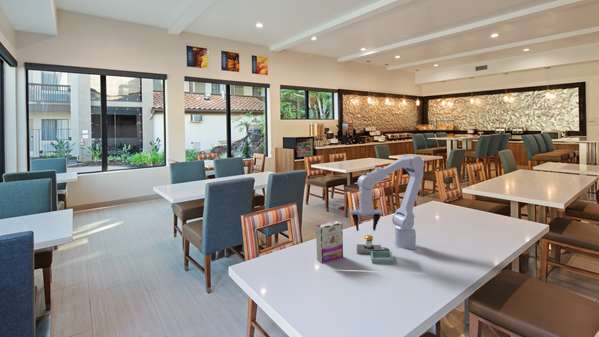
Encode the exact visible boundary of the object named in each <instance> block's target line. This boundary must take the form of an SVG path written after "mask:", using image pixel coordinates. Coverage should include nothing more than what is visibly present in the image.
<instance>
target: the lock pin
mask: <svg viewBox="0 0 599 337" xmlns="http://www.w3.org/2000/svg"><path fill="white" fill-rule="evenodd" d="M364 240H365V245H366V249H372V245H373V240H374V236H373V235H371V234H367V235H364Z"/></svg>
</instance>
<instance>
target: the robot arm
mask: <svg viewBox="0 0 599 337" xmlns="http://www.w3.org/2000/svg"><path fill="white" fill-rule="evenodd" d="M425 163H426V162H424V159H422V157H421V156H415V155H408V154H405V155H402V156H400V157H398V159H397V160H395V161H393V162H391V163H390V164H388V165H386V166H385V167H384V168H383V167H378V166H377V167H375V168H374V170H372V171H370V172H366V173H365V174H366V175H365V174H362V175H360V176H359V177H358V178H357V179H358V180H357V181H356V184H357V186H358V189H359V190H358V192H359V194H358V195H359V204H358V206H359V209H354V210H349V216H351V217H352V219H353V222H354V224H355V227H356V232H359V216H372V221H373V224H372V229H373V231H375V232H376V230H377V225H378V222H379V220H380V219H381V216H382V215H383V211H382V209H373V188H374V186H375V185H376V184H378V183H380V182H382V181H383V180H385V179H387V177H388V175H390V174H391V173H394V172H396V171H399V170H400V169H404V170H405V171H407V173H408V174H409V176H410V177H409V180H408V182H407V186H406V189H405V193H404V195H403V199H402V202H401V204H400V207H399V208H397V209H396V210H395V213H394V214H393V215H392V218H391V221H392V224H394V241H393V242H392V244H393V246H394V248H395V249H411V250H416V249H417V248H416V245H417V244H416V242H417V241H416V240H417V238H416V237H417V236H416V235H417V234H416V229H415V228H414V225H415V217H416V216H415V214H414V212H413V210H414V207H415V203H416V201H417V197H418V193H419V191H420V187H421V184H422V181H423V179H424V167H425Z"/></svg>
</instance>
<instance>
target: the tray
mask: <svg viewBox="0 0 599 337" xmlns="http://www.w3.org/2000/svg"><path fill="white" fill-rule="evenodd" d="M375 256H376V257H377V256H378V257H379V256H380V258H375ZM381 257H389V258H381ZM370 261H371V264H384V265H385V264H387V265H394V263H395V259H394V256H393V253H392V251H390V252H388V251H371V254H370Z"/></svg>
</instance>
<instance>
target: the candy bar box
mask: <svg viewBox="0 0 599 337" xmlns="http://www.w3.org/2000/svg"><path fill="white" fill-rule="evenodd" d="M343 238H344V237H343V222H341V221H338V220H334V221H328V222H323V223H318V224H316V225H315V240H316V243H315V244H316V260H317V262H319V263H321V264H324V263H326V262H327V263H328V262H331V261H334V260H338V259H342V258H344V243H343V242H344V241H343Z"/></svg>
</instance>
